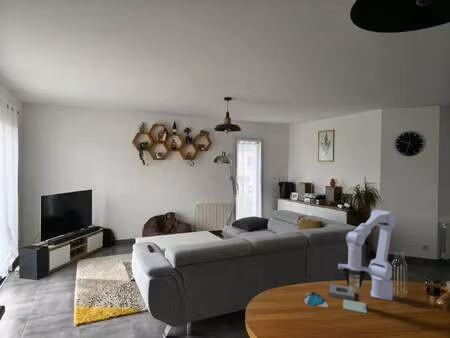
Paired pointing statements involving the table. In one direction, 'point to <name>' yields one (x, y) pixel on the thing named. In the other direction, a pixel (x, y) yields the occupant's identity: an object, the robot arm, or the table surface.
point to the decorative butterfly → (314, 300)
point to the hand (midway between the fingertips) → (354, 285)
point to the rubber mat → (354, 306)
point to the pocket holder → (336, 289)
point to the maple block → (354, 284)
